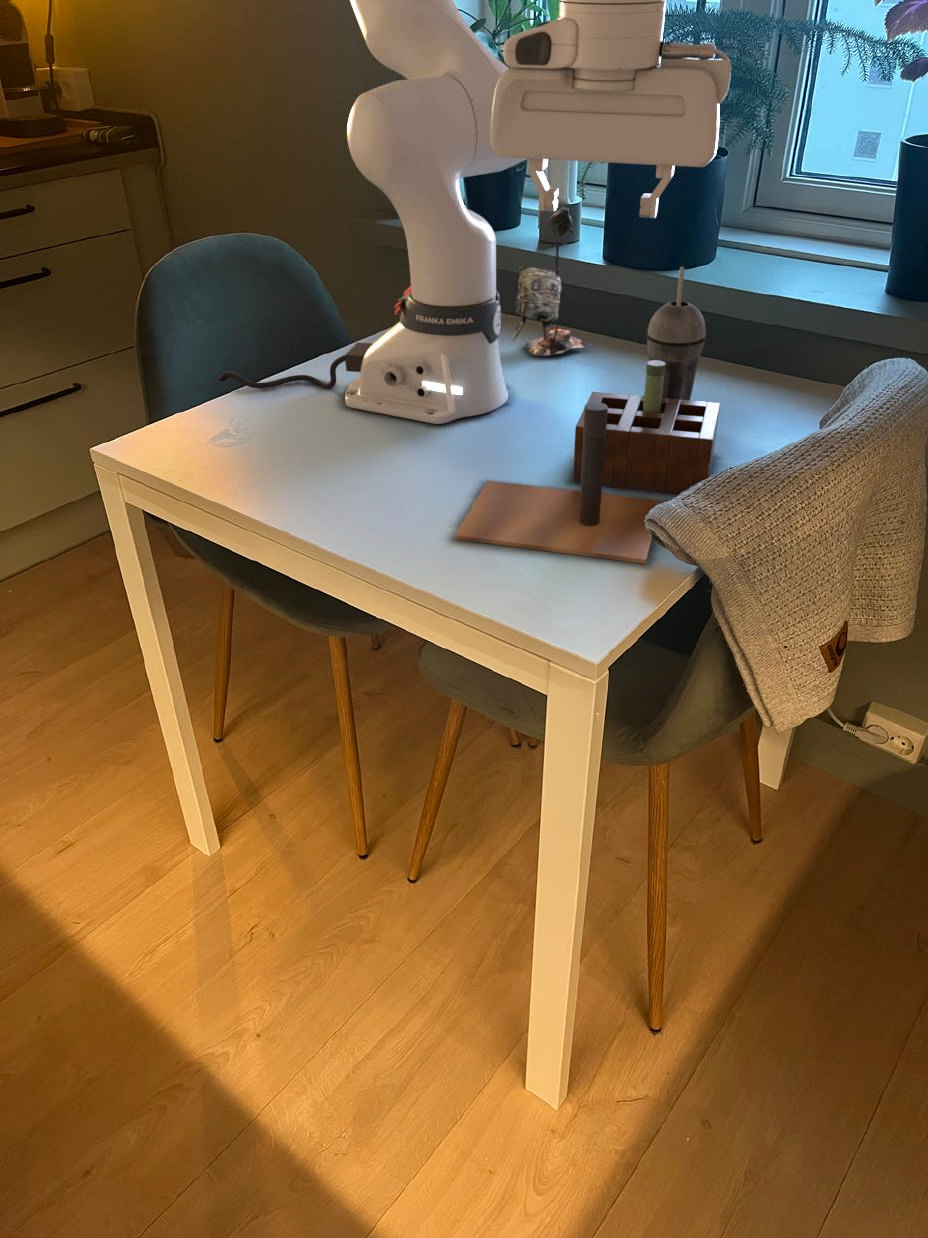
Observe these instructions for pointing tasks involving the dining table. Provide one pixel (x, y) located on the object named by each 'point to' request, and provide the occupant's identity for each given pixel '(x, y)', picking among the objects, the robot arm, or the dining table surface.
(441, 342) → the robot arm
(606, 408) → the black marker
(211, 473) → the dining table surface
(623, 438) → the pen stand
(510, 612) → the dining table surface
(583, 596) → the dining table surface
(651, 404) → the sage marker
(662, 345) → the beverage cup
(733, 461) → the dining table surface
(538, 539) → the brown wooden board
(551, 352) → the mottled grey tall piece
